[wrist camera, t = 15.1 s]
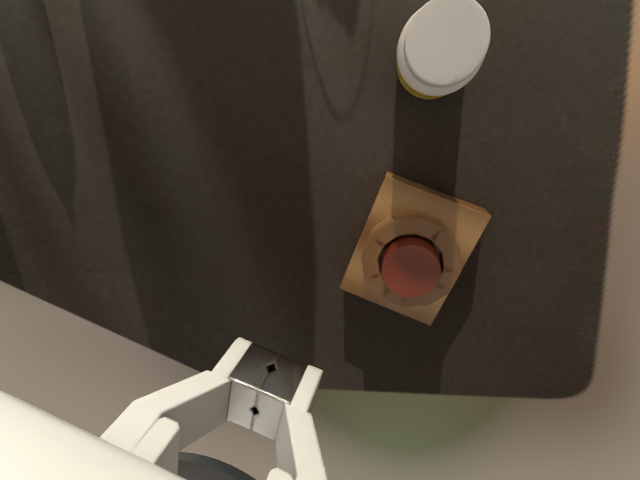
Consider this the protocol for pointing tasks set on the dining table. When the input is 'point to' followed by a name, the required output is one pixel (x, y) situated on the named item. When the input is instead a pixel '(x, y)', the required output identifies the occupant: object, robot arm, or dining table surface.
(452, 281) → the button block
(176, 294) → the dining table surface
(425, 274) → the button
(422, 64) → the supplement bottle
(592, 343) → the dining table surface
